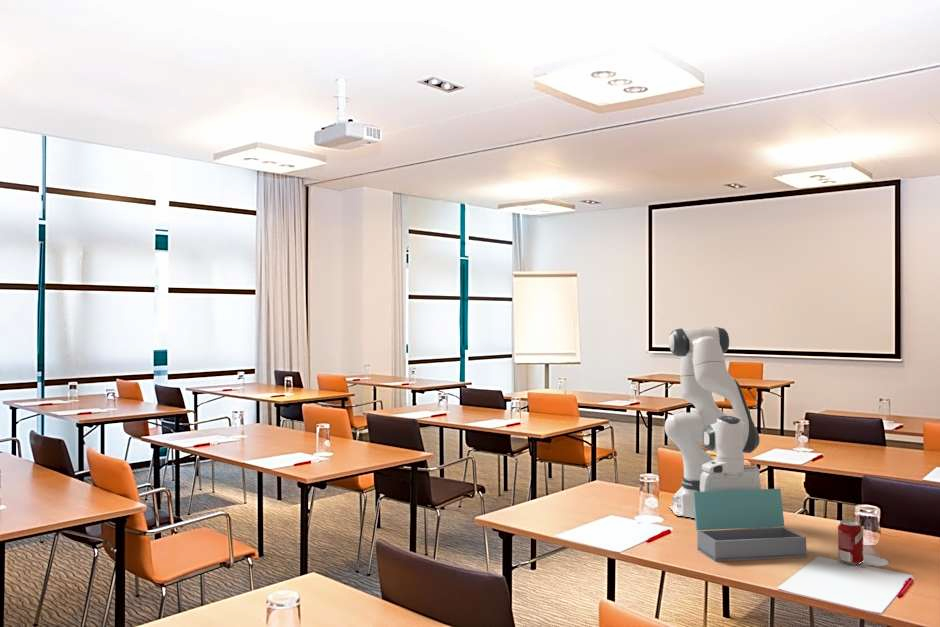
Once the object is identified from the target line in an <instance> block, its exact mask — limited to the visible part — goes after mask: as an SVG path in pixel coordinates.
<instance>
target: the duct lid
mask: <svg viewBox="0 0 940 627" xmlns="http://www.w3.org/2000/svg"><path fill="white" fill-rule="evenodd" d="M693 500H694V512H695V519H694V523H695V530H696V531H710V530H732V529H755V528H777V527H785V518H784V510H783V501H782V492H781V488H764V489H763V488H761V489H757V490H729V491H702V492H693ZM785 528H786V527H785Z"/></svg>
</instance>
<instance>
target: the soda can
mask: <svg viewBox="0 0 940 627" xmlns="http://www.w3.org/2000/svg"><path fill="white" fill-rule="evenodd" d="M837 544H838V545H837V548H838V550H837V551H838V553H837V554H838V555H837V556H838V560H839V561H841V563H843V562H844V563H843V564H845V563H848V564H847V565H849V564H859V563H860V562H862V561H863V560H865V559H864V528H862V526H861V522H859V521H857V520H851V519H849V520H848V519H846V520H845V519H844V520H842V519H841V520H840V521H839V525H838V526H837ZM859 565H860V564H859Z"/></svg>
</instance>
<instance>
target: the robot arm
mask: <svg viewBox="0 0 940 627" xmlns="http://www.w3.org/2000/svg"><path fill="white" fill-rule="evenodd" d="M668 346H669V349H670V352H671V354H673V355H674V356H676V357H680V361H679V362H680V363H679V379H680V380H679V381H680V394H681V397H682V398H683V400H684V401H686V402H688V403H690V404H692V405H693V406H694V408H695V411H696V412H679V413H674V414H671V415H668V416H667V418H666V420H665V422H664V432H665V434H666V436H667V438H668V439H669V440H671V442H673V443H674V444H675V445H676V446H677V447H678V449H679V451H680V453H681V457H682V463H683V477H681V478H682V479H681V487H680V488H679V489H678V490H677V491H676V492H675V493H674V495H673V496H672V502H673V504H674V505H673V506H670V508H671V509H672V510H673V512H674V513H675V514H676V515H681V516H687V517H692V518H695V512H694V500H693V492H702V491H729V490H757V489H762V486H761V485H762V484H761V479H760V478H761V477H760V476H761V475H760V473H761V472H760V468H759V467H758V466H756V465H754V464H751V465H749V464H748V465H747V464H745V455H744V454H751V453H753V452H754V451H755V450H756V449H758V447H759V446H760V435H759V431H758V428H757V427H756V425H755V423H754V421H753V418H752V415H751V413H750V409H749V407H748V404H747V401H746V399H745V396H744V393H743V390H742V388H741V386H740V384H739V382H738V380H736V379H735V378H733V377H732V376H731V374H730V373H729V371H728V369H727V365H726V360H725V359H726V358H725V356H724V354H725V353H726V352H727V351H728V350H729V347H730V336H729V334H728V331H727V330H726V329H725V328H722V327H720V326H719V327H718V326H715V327H709V326H697V327H688V328H682V327H681V328H677V329H673V330H672V331H671V332H670V334H669V338H668ZM713 394H716V395H718V396H720V397H723V398H725V399H726V400H727V401H728V402H729V403H730V404H731V407H732V410H733V413H734V416H733V415H732V416H731V415H727V414H726V413H724V411H722V410H721V408H719V407H718V405H717V403H716V401H715V399H714V396H713ZM700 442H702V444H703V445H704V447H705V448H706V449H707V450H708V451H711V452H716V454H715V459H714V457H713V456H712V455H711V454H710V453H708V452H707V451H705V450H703V449H701V445H700Z"/></svg>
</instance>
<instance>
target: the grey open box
mask: <svg viewBox="0 0 940 627" xmlns="http://www.w3.org/2000/svg"><path fill="white" fill-rule="evenodd" d="M696 531H697V534H696V536H697V551H699V552H700V551H701V552H700V553H702V554H703V555H705V557H708V558H709V559H711V560H712V561H714V562H729V561H731V562H732V561H750V560H752V561H753V560H769V559H770V560H773V559H787V558H788V559H789V558H794V557H795V558H807V557H808V556H807V554H808V553H807V537H806V536H804V535H802V534H800V533H797V532H795V531H793V530H791V529H789V528H787V527H763V528H741V529H718V530H696Z"/></svg>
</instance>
